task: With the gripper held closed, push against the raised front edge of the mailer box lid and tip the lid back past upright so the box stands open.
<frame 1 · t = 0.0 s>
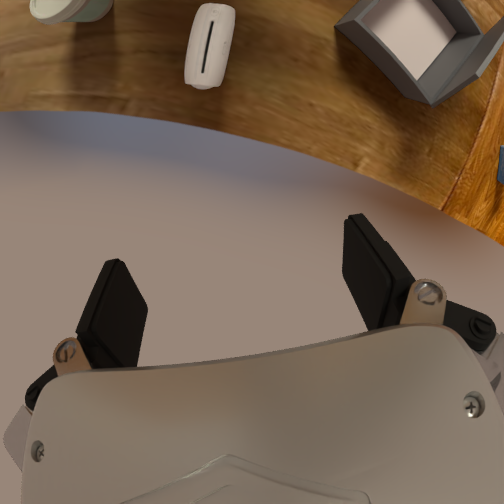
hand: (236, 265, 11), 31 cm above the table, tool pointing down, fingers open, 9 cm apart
mailer lid: (483, 49, 17), point 14 cm above the table, hinge at 60.0°
photo printer: (213, 53, 30), on the table
mailer box: (405, 26, 27), on the table
coffee cup: (96, 5, 22), on the table
label tape box: (501, 161, 42), on the table
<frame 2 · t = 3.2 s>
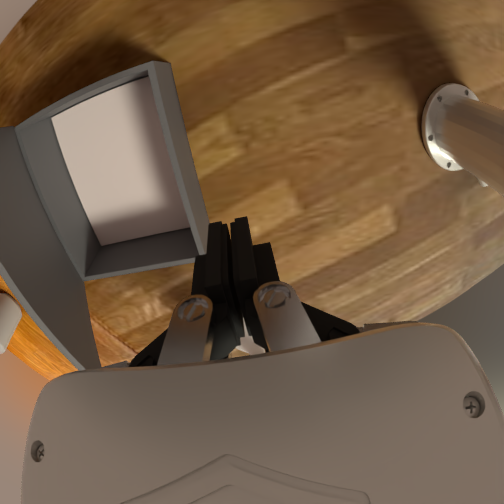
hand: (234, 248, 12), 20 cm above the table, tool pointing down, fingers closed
mailer lid: (34, 243, 18), point 14 cm above the table, hinge at 60.0°
mailer box: (125, 166, 29), on the table
can: (10, 302, 41), on the table
flower in vase: (257, 316, 45), on the table
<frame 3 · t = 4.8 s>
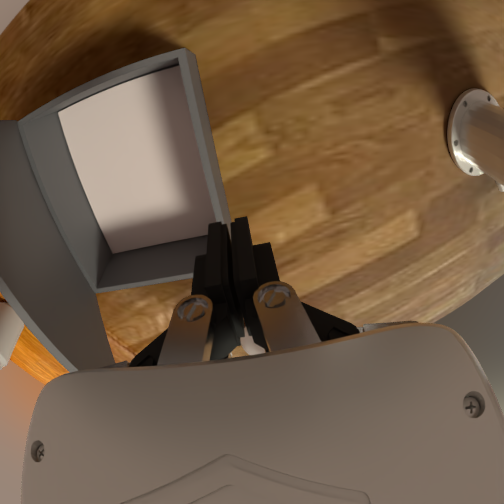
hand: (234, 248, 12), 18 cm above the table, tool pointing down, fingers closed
mailer lid: (43, 255, 15), point 14 cm above the table, hinge at 60.0°
mailer box: (141, 167, 27), on the table
can: (11, 312, 38), on the table
flower in vase: (277, 324, 43), on the table
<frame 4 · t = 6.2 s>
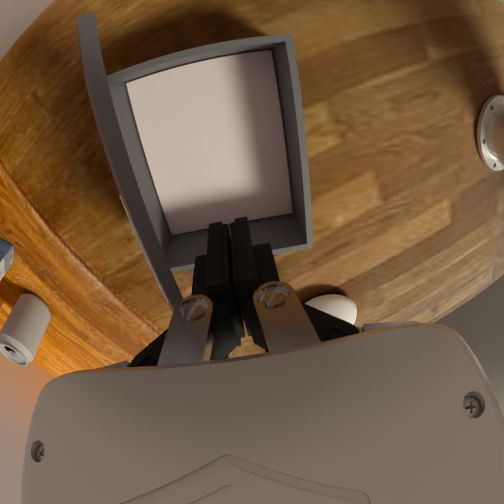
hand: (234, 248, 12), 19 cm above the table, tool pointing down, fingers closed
mailer lid: (135, 223, 16), point 15 cm above the table, hinge at 63.0°, touching gripper
mailer box: (214, 145, 28), on the table
can: (36, 304, 39), on the table
flower in vase: (323, 308, 44), on the table
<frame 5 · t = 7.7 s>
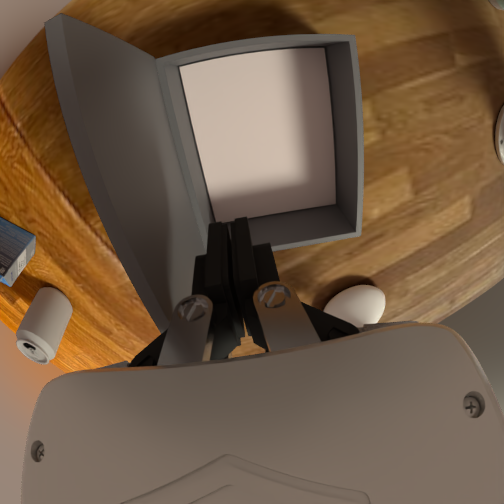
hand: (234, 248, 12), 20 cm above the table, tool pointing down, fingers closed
mailer lid: (172, 216, 16), point 15 cm above the table, hinge at 83.8°, touching gripper
mailer box: (265, 135, 28), on the table
can: (56, 298, 40), on the table
label tape box: (16, 232, 32), on the table
flower in vase: (353, 299, 45), on the table
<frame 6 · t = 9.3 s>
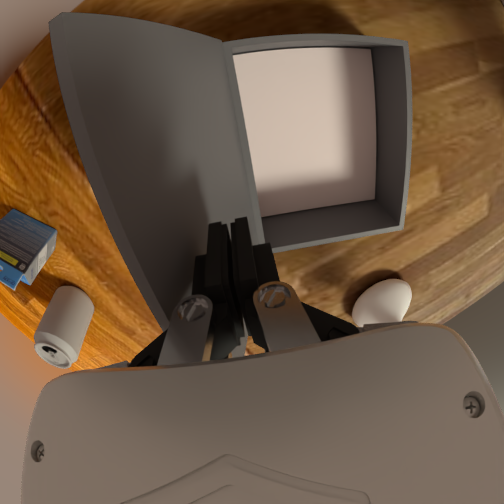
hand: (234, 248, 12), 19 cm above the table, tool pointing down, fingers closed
mailer lid: (216, 207, 16), point 15 cm above the table, hinge at 102.4°, touching gripper
mailer box: (313, 129, 28), on the table
can: (76, 298, 39), on the table
label tape box: (34, 226, 31), on the table
flower in vase: (381, 293, 44), on the table
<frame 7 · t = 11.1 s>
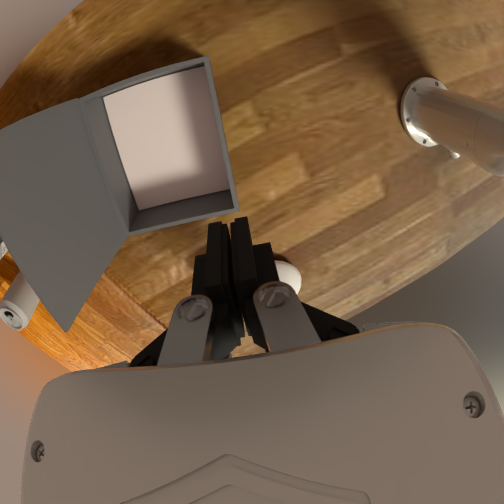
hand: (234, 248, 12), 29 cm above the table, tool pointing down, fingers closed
mailer lid: (59, 204, 24), point 15 cm above the table, hinge at 102.5°
mailer box: (167, 140, 36), on the table
can: (32, 279, 46), on the table
label tape box: (1, 225, 38), on the table
flower in vase: (271, 275, 53), on the table
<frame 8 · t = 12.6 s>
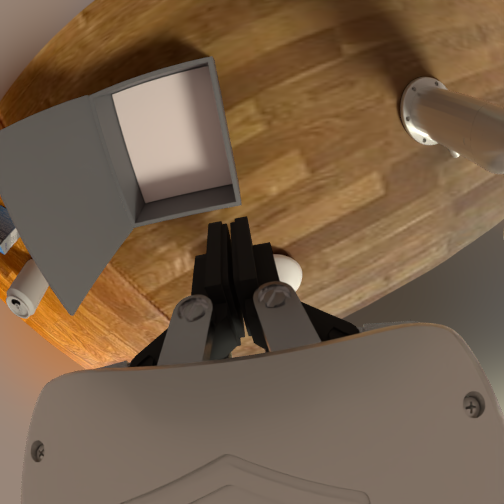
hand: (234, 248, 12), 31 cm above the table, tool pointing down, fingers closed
mailer lid: (69, 194, 26), point 15 cm above the table, hinge at 102.5°
mailer box: (173, 136, 38), on the table
can: (40, 269, 49), on the table
label tape box: (11, 216, 41), on the table
flower in vase: (273, 269, 54), on the table
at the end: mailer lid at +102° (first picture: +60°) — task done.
